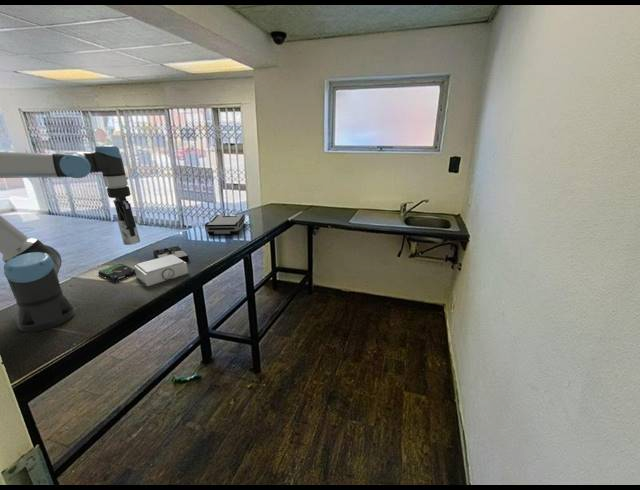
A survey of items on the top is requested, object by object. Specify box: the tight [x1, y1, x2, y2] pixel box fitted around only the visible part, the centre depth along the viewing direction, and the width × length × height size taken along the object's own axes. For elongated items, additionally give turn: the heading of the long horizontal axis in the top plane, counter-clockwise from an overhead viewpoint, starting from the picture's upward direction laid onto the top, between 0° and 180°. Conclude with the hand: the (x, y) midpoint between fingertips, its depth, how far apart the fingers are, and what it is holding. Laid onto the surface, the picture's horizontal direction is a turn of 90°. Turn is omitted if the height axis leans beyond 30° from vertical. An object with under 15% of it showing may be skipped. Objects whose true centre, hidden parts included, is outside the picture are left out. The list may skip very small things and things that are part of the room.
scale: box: [133, 255, 189, 287], centre depth 137 cm, size 18×15×6 cm
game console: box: [204, 214, 246, 236], centre depth 209 cm, size 21×32×8 cm, turn 5°
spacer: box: [117, 218, 141, 246], centre depth 123 cm, size 6×6×10 cm
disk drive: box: [97, 263, 136, 283], centre depth 138 cm, size 10×3×15 cm
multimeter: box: [153, 245, 190, 263], centre depth 157 cm, size 13×19×5 cm
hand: (131, 241), depth 124 cm, fingers closed on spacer, 6 cm apart
